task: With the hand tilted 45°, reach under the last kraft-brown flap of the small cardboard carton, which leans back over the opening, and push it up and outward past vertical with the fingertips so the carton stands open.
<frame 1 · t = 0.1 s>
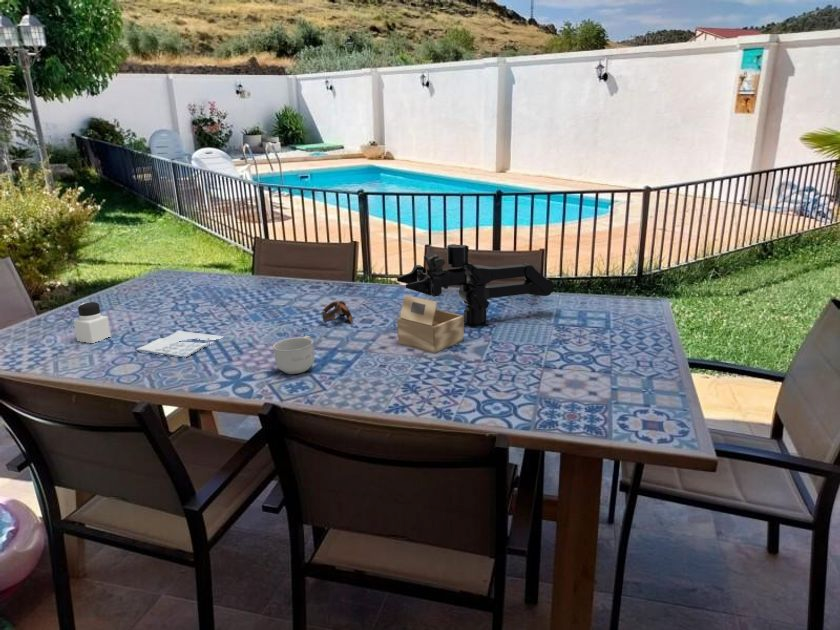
hand: (401, 282, 197), 17 cm above the table, tool horizontal, fingers open, 9 cm apart
carton: (430, 342, 193), on the table
carton flap: (418, 309, 186), point 12 cm above the table, hinge at 70.0°
medicine bottle: (94, 340, 202), on the table
teacup: (299, 368, 175), on the table
brown wooden arch: (339, 322, 215), on the table
white open book: (183, 347, 196), on the table
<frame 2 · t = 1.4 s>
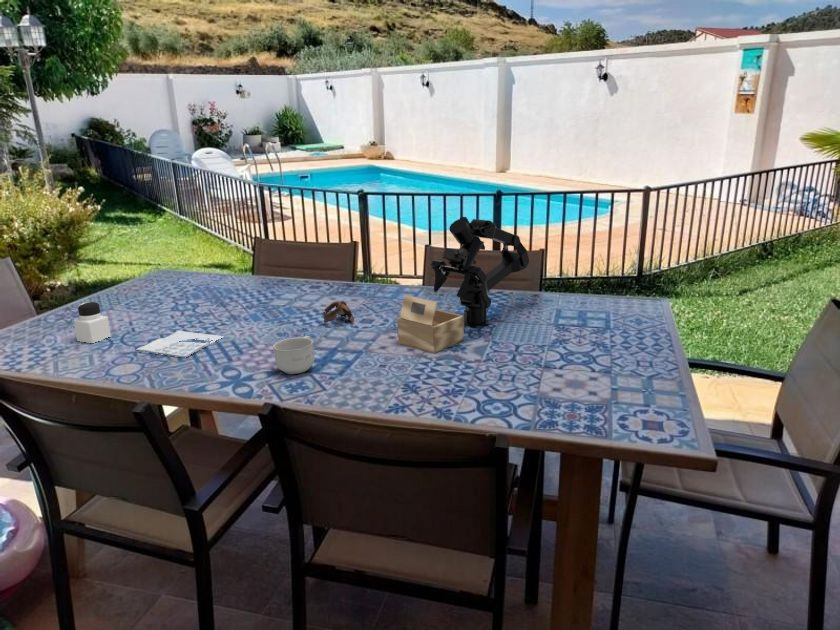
hand: (446, 294, 195), 14 cm above the table, tool tilted 45°, fingers open, 9 cm apart
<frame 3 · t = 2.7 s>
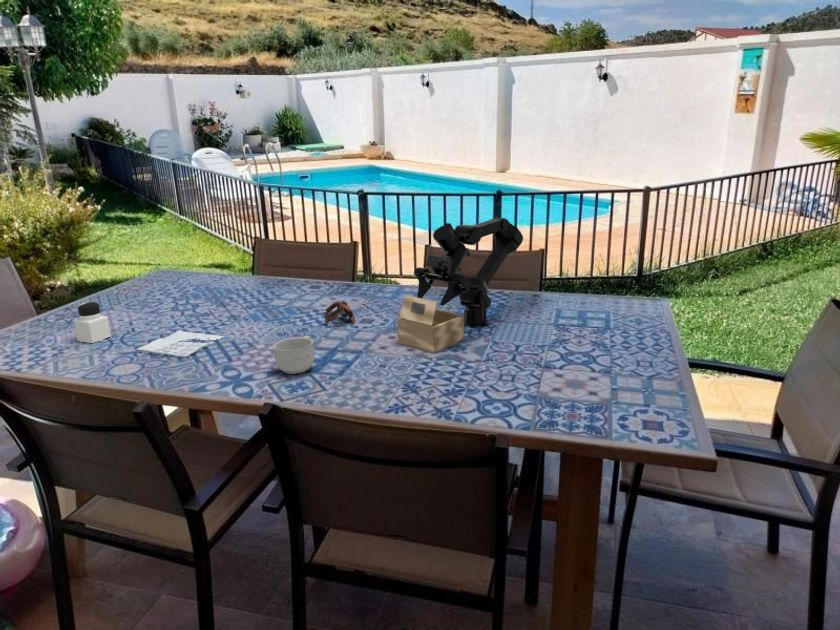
hand: (429, 302, 189), 13 cm above the table, tool tilted 45°, fingers open, 9 cm apart
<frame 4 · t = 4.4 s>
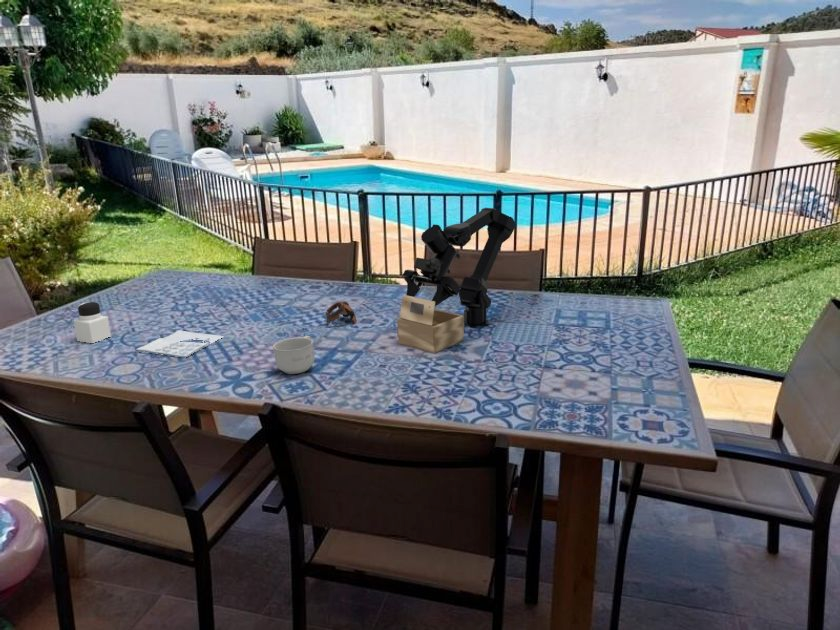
hand: (418, 305, 186), 13 cm above the table, tool tilted 45°
carton flap: (417, 309, 186), point 12 cm above the table, hinge at 77.2°, touching gripper
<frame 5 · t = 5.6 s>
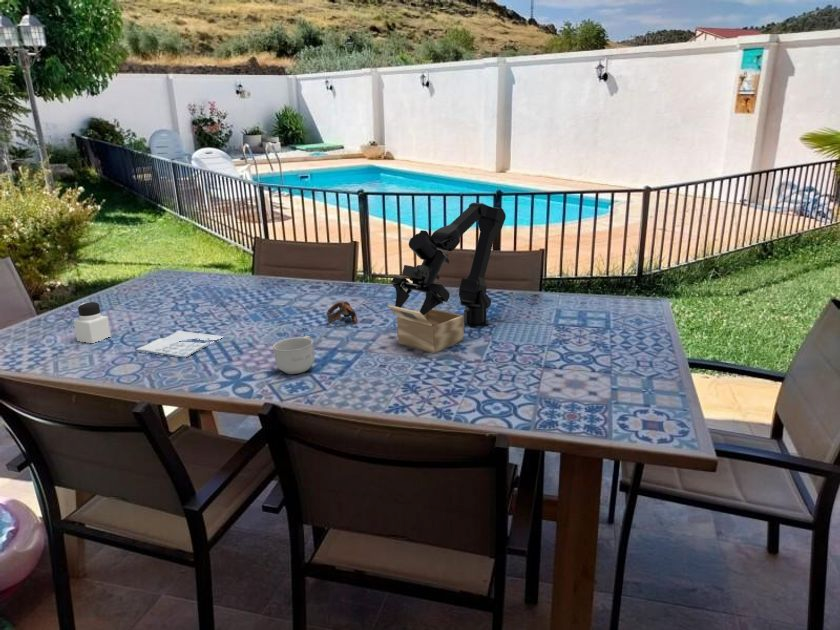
hand: (407, 313, 183), 12 cm above the table, tool tilted 40°
carton flap: (409, 315, 184), point 11 cm above the table, hinge at 134.7°, touching gripper
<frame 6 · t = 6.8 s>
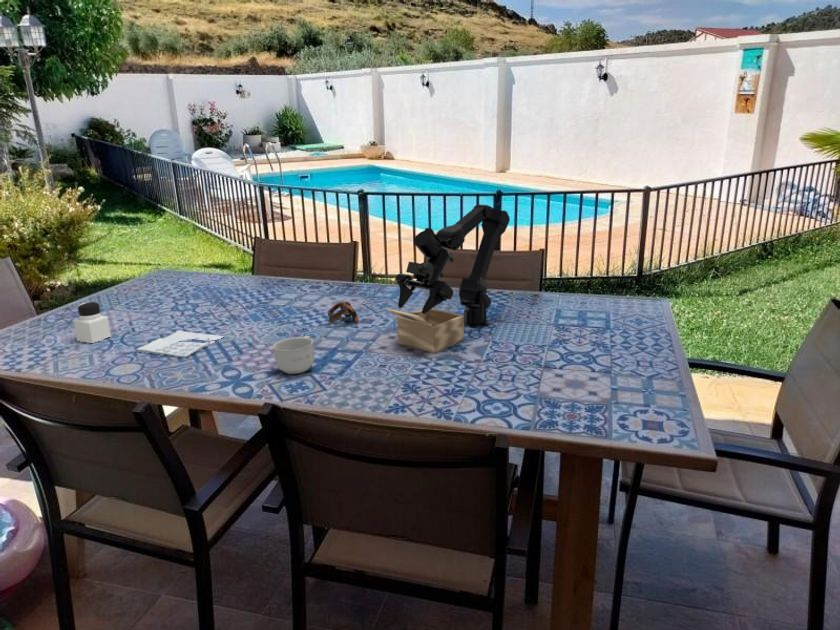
hand: (410, 310, 183), 12 cm above the table, tool tilted 45°, fingers open, 9 cm apart
carton flap: (409, 317, 183), point 10 cm above the table, hinge at 143.6°
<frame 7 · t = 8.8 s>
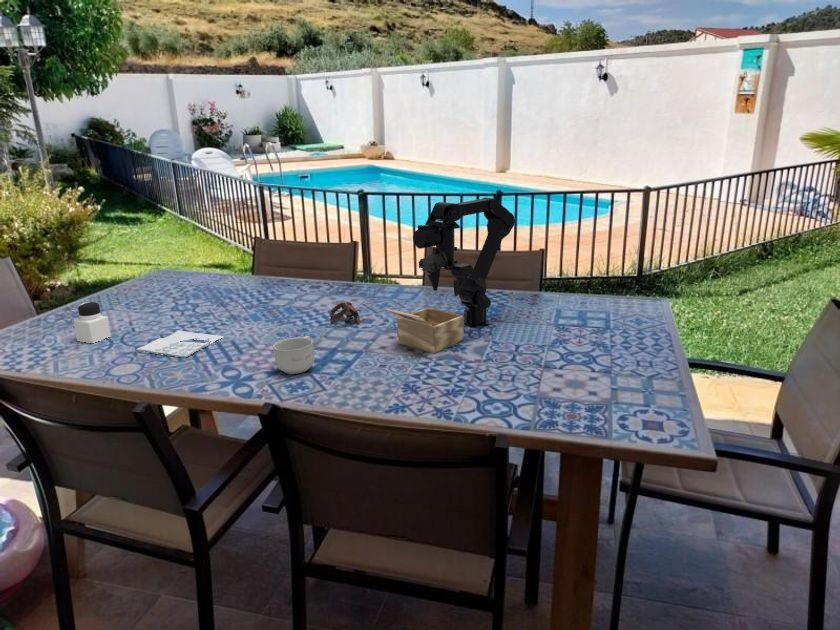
hand: (445, 293, 198), 13 cm above the table, tool pointing down, fingers open, 9 cm apart
carton flap: (409, 317, 183), point 10 cm above the table, hinge at 144.3°
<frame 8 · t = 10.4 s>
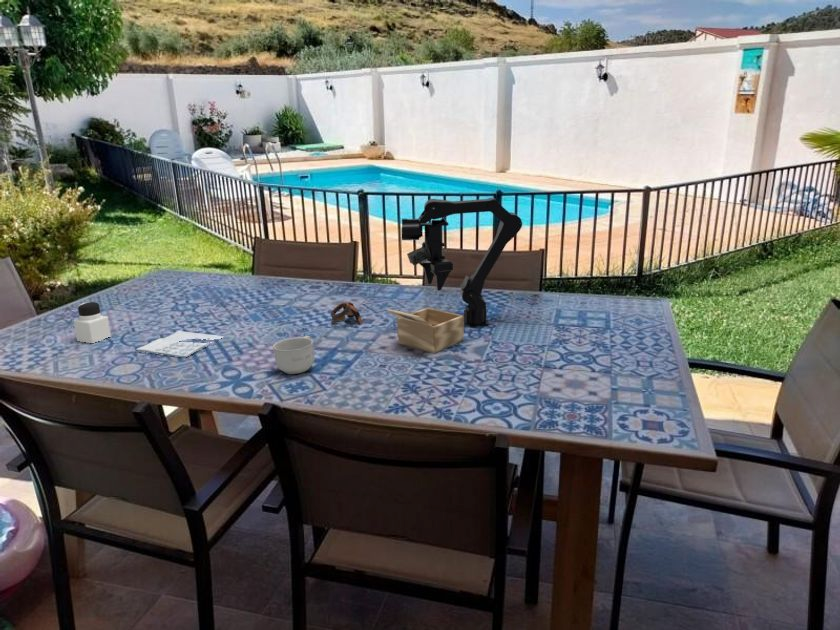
hand: (434, 287, 206), 13 cm above the table, tool pointing down, fingers open, 9 cm apart
at the end: carton flap at +144° (first picture: +70°); the gripper is holding nothing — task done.
